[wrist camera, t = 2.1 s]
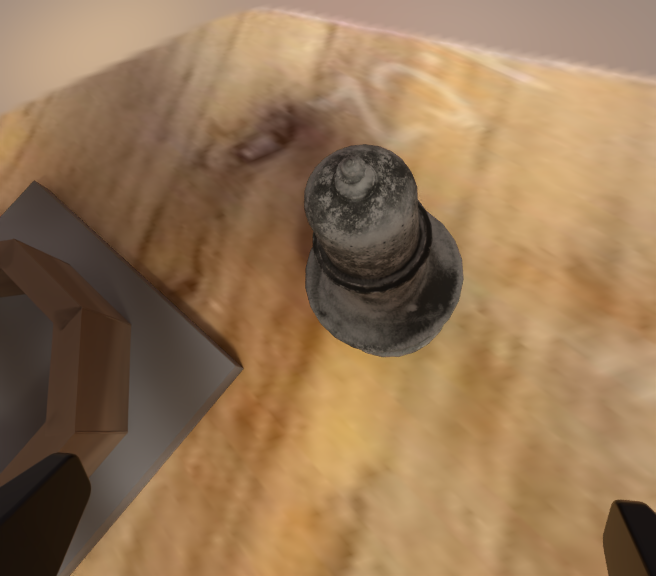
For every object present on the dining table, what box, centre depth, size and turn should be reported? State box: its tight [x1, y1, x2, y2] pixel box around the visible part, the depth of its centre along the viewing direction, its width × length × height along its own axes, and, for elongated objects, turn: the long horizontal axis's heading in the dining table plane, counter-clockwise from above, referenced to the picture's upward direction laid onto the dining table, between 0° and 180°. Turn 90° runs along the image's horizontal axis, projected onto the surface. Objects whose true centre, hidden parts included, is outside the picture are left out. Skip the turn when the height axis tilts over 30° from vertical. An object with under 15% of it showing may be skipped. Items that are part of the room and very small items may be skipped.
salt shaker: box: [304, 144, 463, 357], centre depth 17 cm, size 6×6×12 cm
